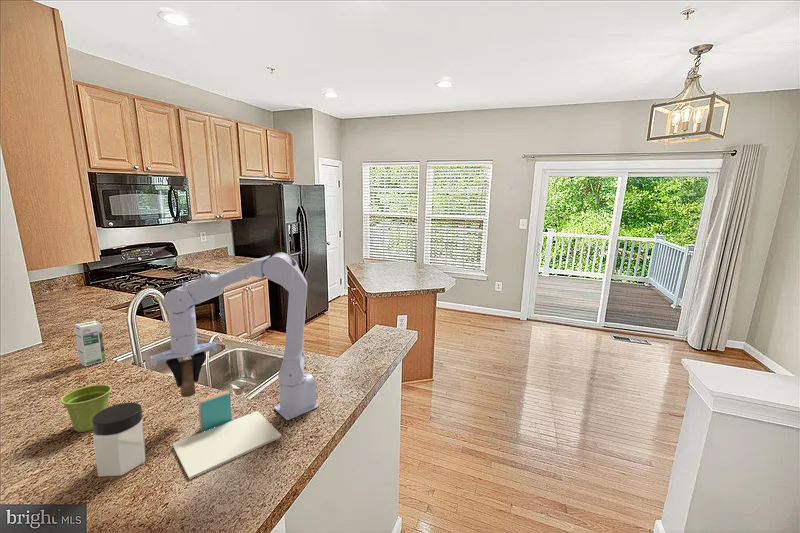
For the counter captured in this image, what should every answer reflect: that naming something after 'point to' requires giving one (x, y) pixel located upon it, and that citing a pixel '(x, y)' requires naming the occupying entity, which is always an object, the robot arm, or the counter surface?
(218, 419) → the tile
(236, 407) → the counter surface
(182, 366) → the pestle
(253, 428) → the board
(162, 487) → the counter surface
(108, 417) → the jar
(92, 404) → the plant pot
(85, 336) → the syrup box
